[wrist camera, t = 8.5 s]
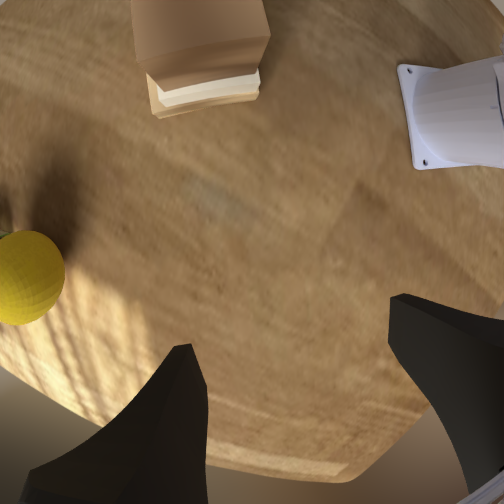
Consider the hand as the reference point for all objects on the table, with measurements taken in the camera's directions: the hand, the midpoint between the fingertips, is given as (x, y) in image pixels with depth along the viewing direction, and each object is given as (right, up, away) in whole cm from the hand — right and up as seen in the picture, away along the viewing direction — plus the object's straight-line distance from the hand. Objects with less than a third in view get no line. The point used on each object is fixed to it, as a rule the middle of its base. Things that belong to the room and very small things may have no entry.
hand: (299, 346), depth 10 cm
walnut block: (-4, +14, +2) cm, 14 cm away
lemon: (-16, +3, +9) cm, 19 cm away
